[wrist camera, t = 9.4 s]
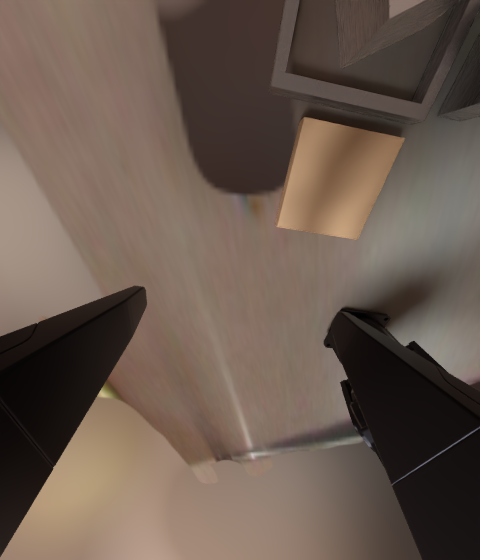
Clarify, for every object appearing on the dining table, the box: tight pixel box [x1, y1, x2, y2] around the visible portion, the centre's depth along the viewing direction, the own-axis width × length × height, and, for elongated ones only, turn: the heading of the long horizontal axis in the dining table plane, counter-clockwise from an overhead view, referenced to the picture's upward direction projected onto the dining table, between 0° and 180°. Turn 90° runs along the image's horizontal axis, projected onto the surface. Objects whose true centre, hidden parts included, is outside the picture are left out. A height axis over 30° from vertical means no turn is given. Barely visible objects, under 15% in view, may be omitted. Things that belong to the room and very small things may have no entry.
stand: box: [275, 117, 405, 240], centre depth 16 cm, size 8×8×1 cm
